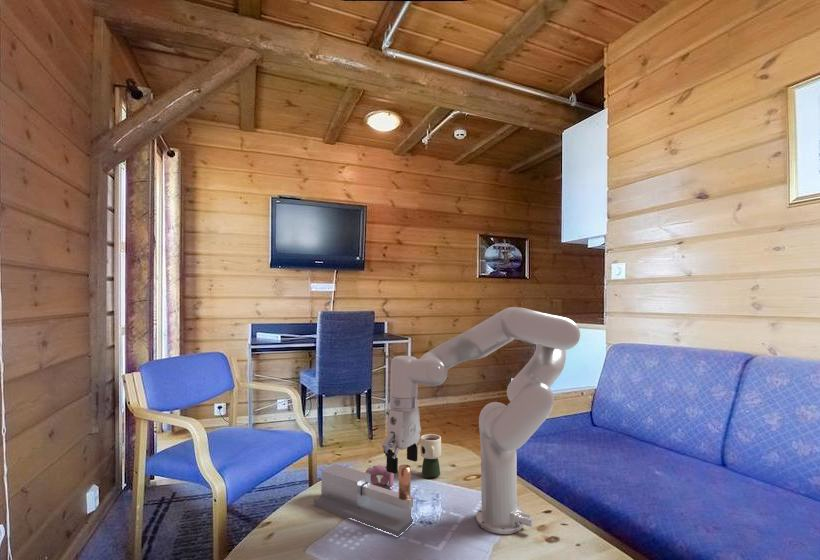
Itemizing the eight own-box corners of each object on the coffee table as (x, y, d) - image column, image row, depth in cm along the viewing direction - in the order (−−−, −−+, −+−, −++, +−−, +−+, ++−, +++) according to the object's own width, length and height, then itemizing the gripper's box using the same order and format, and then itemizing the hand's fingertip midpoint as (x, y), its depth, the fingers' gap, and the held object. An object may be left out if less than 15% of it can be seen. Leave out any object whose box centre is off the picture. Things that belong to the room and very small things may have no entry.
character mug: (419, 469, 144) (418, 432, 144) (438, 468, 144) (438, 431, 145) (422, 483, 133) (422, 443, 134) (443, 482, 134) (443, 442, 134)
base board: (422, 516, 113) (422, 510, 113) (398, 538, 103) (398, 531, 103) (341, 489, 129) (341, 484, 129) (313, 505, 119) (313, 500, 119)
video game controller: (394, 489, 132) (395, 466, 135) (392, 489, 128) (393, 465, 131) (364, 488, 133) (366, 465, 136) (361, 488, 129) (363, 464, 132)
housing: (370, 499, 119) (370, 474, 119) (357, 508, 114) (357, 482, 114) (335, 488, 126) (335, 463, 127) (321, 495, 121) (321, 470, 122)
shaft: (414, 505, 109) (413, 466, 110) (407, 510, 106) (407, 470, 107) (355, 486, 120) (355, 451, 121) (348, 491, 118) (348, 454, 118)
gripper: (397, 411, 101) (395, 481, 100) (431, 398, 115) (430, 459, 115) (373, 406, 105) (371, 473, 104) (409, 394, 119) (408, 453, 119)
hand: (402, 466), depth 109 cm, fingers open, 9 cm apart
